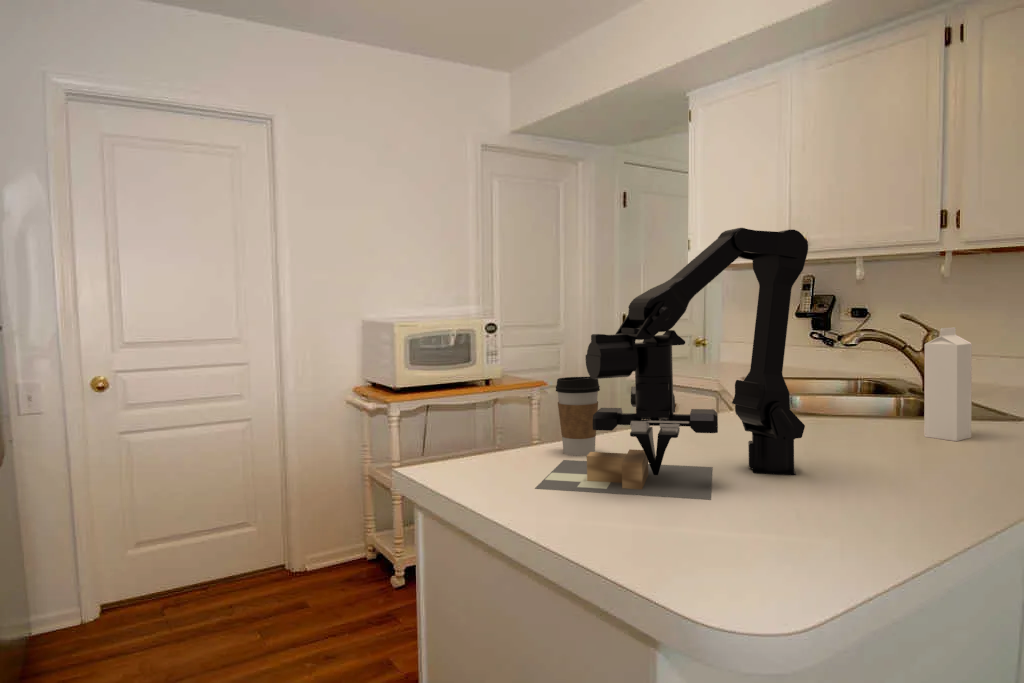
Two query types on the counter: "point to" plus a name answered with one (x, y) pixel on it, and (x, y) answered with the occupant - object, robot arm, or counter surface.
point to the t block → (618, 468)
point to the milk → (948, 387)
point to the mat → (665, 484)
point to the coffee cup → (577, 413)
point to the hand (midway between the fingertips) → (656, 474)
